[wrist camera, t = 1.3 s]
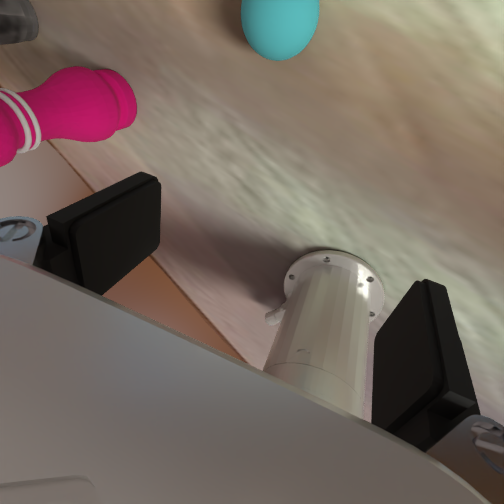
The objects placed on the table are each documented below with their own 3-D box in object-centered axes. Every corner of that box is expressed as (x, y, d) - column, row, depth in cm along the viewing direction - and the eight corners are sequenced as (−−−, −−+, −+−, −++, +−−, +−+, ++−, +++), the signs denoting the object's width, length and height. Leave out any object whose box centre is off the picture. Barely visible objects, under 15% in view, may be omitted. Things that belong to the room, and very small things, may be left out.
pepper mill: (125, 144, 39) (-48, 211, 23) (81, 98, 37) (-135, 137, 22) (151, 101, 34) (-42, 150, 19) (102, 47, 33) (-151, 52, 17)
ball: (285, 74, 28) (265, 81, 23) (242, 17, 27) (212, 11, 22) (340, 17, 24) (329, 11, 20) (294, -53, 23) (271, -77, 19)
